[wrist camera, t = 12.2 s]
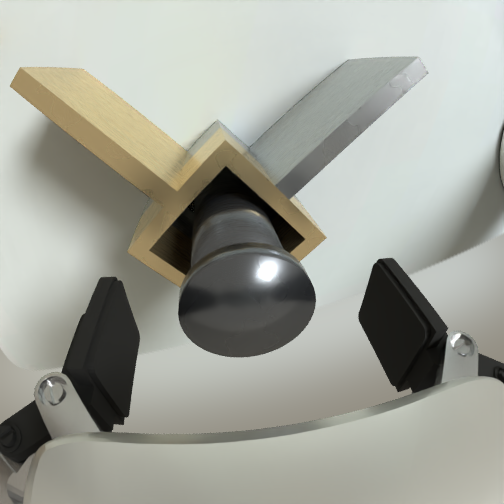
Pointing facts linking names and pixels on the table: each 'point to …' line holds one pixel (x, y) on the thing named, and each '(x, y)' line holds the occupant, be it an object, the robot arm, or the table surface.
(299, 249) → the hinge
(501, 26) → the table surface
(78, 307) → the table surface
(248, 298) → the hinge pin
